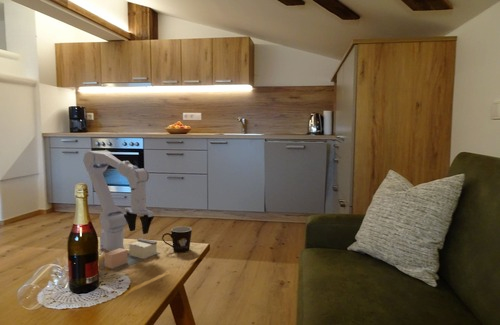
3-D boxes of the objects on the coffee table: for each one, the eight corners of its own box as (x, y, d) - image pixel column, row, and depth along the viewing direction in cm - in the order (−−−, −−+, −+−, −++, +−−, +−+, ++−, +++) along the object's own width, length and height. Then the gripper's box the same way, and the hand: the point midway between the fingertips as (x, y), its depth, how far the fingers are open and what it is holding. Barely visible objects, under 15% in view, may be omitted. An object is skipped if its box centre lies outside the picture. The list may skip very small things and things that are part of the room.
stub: (104, 266, 130) (104, 253, 129) (120, 260, 136) (120, 248, 135) (112, 268, 128) (111, 255, 127) (127, 262, 134) (127, 249, 133)
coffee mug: (193, 249, 153) (194, 227, 153) (188, 256, 145) (188, 232, 144) (168, 248, 155) (168, 225, 154) (161, 254, 146) (161, 231, 145)
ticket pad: (128, 254, 142) (128, 242, 142) (141, 250, 149) (141, 237, 148) (144, 259, 138) (144, 246, 138) (157, 254, 144) (157, 241, 144)
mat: (97, 267, 132) (96, 264, 132) (141, 250, 151) (141, 248, 151) (117, 273, 126) (116, 270, 126) (160, 255, 145) (160, 253, 145)
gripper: (118, 198, 142) (118, 231, 143) (143, 202, 134) (143, 237, 135) (132, 196, 148) (132, 227, 149) (157, 199, 140) (157, 232, 141)
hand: (138, 232), depth 142 cm, fingers open, 7 cm apart
